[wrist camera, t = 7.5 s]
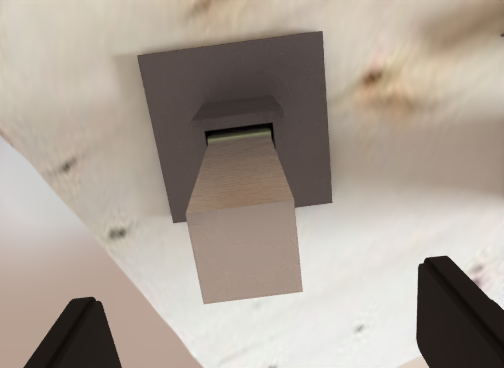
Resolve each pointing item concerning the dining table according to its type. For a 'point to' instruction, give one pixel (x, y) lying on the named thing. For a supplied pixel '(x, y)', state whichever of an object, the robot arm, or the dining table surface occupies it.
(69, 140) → the dining table surface
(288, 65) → the stand housing
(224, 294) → the column
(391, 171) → the dining table surface
